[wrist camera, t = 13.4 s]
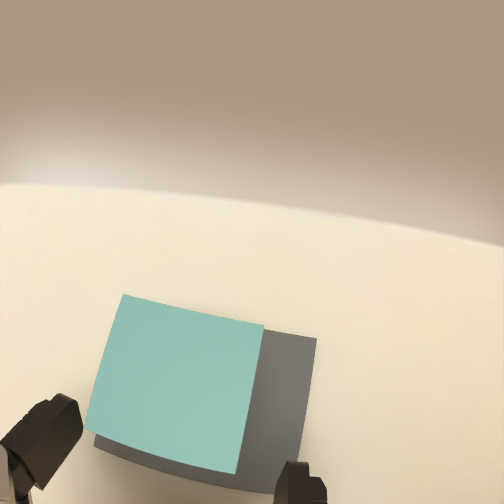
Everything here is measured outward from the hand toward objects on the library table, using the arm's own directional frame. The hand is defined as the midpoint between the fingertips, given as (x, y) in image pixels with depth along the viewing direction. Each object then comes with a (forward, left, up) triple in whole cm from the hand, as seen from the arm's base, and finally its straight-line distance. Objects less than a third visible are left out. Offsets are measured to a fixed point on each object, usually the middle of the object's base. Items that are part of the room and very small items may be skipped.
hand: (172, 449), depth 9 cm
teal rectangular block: (0, -2, -10) cm, 10 cm away
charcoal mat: (0, -3, -11) cm, 11 cm away
